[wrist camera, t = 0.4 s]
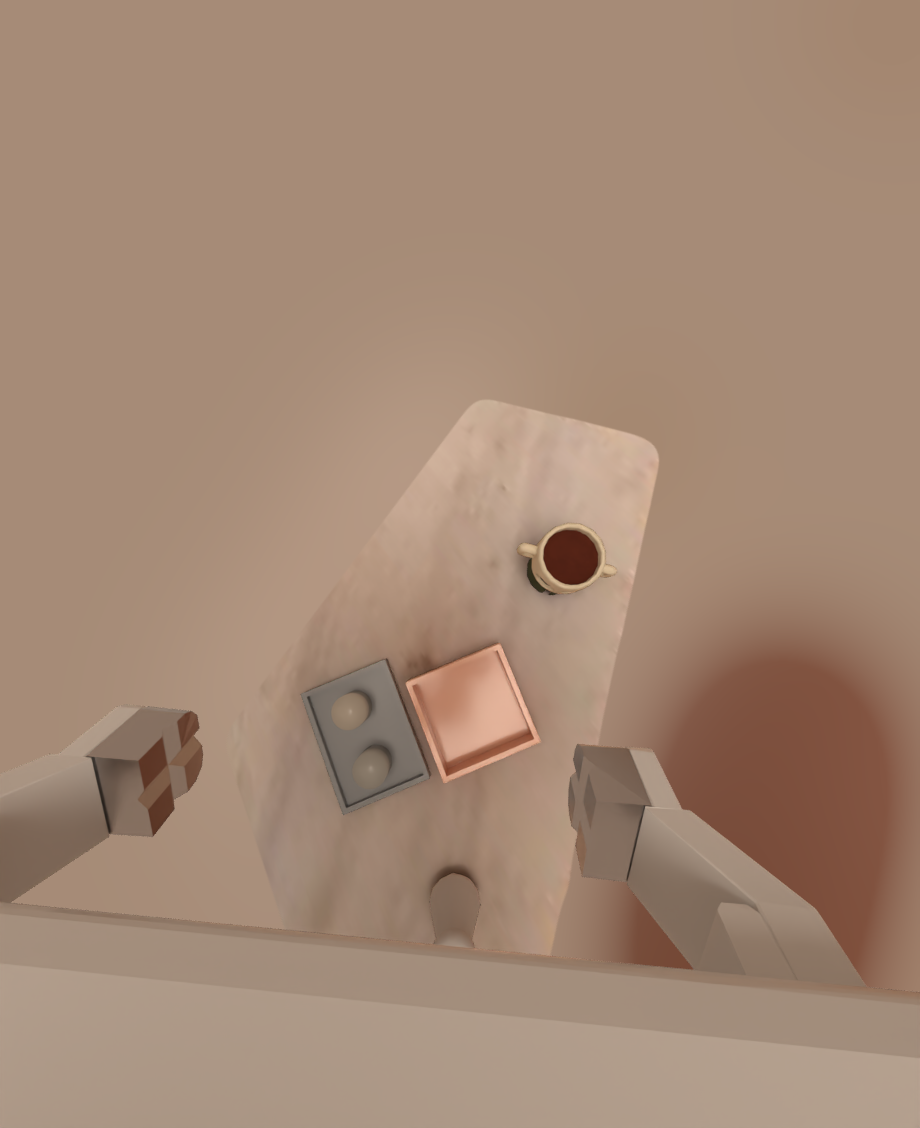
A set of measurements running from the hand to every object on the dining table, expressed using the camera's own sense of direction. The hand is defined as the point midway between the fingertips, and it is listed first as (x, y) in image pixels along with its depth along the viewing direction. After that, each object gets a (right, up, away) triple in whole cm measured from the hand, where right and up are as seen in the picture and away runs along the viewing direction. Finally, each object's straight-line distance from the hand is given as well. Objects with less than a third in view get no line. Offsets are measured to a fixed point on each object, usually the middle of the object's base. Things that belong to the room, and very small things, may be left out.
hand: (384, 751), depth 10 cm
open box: (+3, -14, +50) cm, 52 cm away
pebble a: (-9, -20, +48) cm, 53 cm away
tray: (-10, -17, +49) cm, 53 cm away
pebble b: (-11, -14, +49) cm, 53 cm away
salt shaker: (+1, -35, +47) cm, 59 cm away
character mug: (+13, +3, +52) cm, 54 cm away
